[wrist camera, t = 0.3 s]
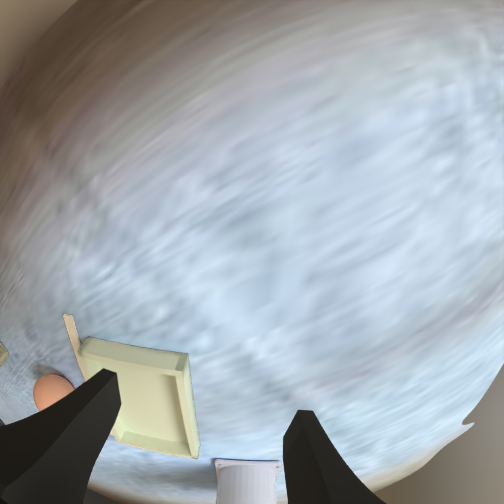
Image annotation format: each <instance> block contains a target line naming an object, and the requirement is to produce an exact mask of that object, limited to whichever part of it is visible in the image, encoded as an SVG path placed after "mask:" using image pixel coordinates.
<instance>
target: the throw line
mask: <svg viewBox="0 0 504 504" xmlns="http://www.w3.org/2000/svg"><path fill="white" fill-rule="evenodd" d="M63 317H64V321H65V324H66V328H67V331H68V334H69V337H70V341H71V344H72V347H73V350H74V352H75V355H76V358H77V361H78V364H79V366H80V369H81V372H82V374H83V377H84V379H85V381H87V377H86V375H85V372H84V369H83V367H82V364H81V361H80V358H79V356H78V353H77V349H78V348H79V347H80V346H81V343H80V340H79V336H78V333H77V329H76V326H75V322H74V318H73V315H69V314H64V315H63ZM110 434H111V435H113V433H112V431H111V432H110Z"/></svg>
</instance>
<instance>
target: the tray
mask: <svg viewBox="0 0 504 504" xmlns="http://www.w3.org/2000/svg"><path fill="white" fill-rule="evenodd" d="M77 353H78V356H79V358H80V361H81V364H82V367H83V369H84V372H85V375H86V377H87V380H88V379H90V378H91V377H92V376H93V375H95V374H96V373H97V372H99V371H100V370H101V369H103V368H105V369H108V370H110V371H113V372H116V373H117V377H118V384H119V391H120V397H121V403H122V405H121V407H120V410H119V413H118V416H117V419H116V421H115V424H114V426H113V428H112V430H111V431H112V433H113V435H114V437H115V439H116V440H117V442H119V443H123V444H126V445H130V446H133V447H137V448H141V449H145V450H150V451H154V452H159V453H163V454H168V455H174V456H179V457H186V458H192V459H198V455H199V449H200V439H199V433H198V427H197V420H196V413H195V406H194V399H193V391H192V383H191V374H190V365H189V355H188V354H187V353H178V352H171V351H163V350H156V349H150V348H143V347H137V346H132V345H126V344H121V343H116V342H111V341H106V340H101V339H96V338H92V337H88V338H87V339H86V340H85V341H84V342H83V343H82V345H81V346H80V347H79V348H78V349H77Z"/></svg>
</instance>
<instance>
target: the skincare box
mask: <svg viewBox="0 0 504 504" xmlns="http://www.w3.org/2000/svg"><path fill="white" fill-rule="evenodd" d="M8 356H9V353H8V352H7V350H6V349H5V348H4V346H3V345H2V344H1V342H0V366H1V365H2V364H3V363H4V362H5V361H6V359H7V358H8Z"/></svg>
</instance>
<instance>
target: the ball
mask: <svg viewBox="0 0 504 504" xmlns="http://www.w3.org/2000/svg"><path fill="white" fill-rule="evenodd" d="M73 390H75V389H74V388H73V386H72V385H71V384H70V383H69V382H68V381H67V380H66V379H64V378H63V377H61V376H58V375H54V374H48V375H44V376H42V377H41V378H39V379H38V381H37V382H36V384H35V386H34V390H33V397H34V401H35V404H36V406H37V408H38V410H39V411H41V410H43V409H45V408H47V407H49V406H50V405H52V404H54V403H55V402H57V401H58V400H60V399H62V398H63V397H65V396H66V395H68V394H69V393H70V392H72V391H73Z"/></svg>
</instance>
